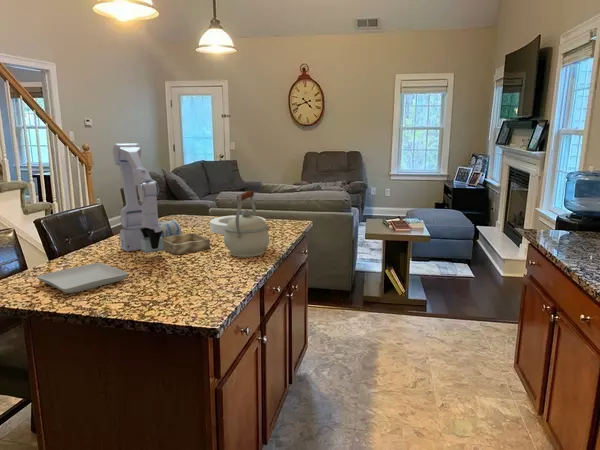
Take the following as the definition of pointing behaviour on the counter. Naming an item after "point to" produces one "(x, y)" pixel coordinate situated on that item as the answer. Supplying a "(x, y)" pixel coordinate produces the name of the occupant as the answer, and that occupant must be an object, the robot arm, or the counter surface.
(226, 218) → the ring with crossbar
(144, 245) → the small crate
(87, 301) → the counter surface
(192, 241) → the square wooden tray
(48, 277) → the salad plate
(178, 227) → the supplement tub
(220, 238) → the counter surface
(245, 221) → the kettle
